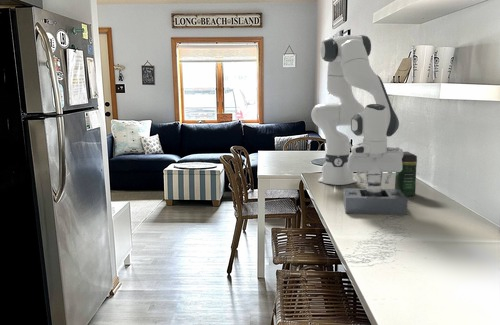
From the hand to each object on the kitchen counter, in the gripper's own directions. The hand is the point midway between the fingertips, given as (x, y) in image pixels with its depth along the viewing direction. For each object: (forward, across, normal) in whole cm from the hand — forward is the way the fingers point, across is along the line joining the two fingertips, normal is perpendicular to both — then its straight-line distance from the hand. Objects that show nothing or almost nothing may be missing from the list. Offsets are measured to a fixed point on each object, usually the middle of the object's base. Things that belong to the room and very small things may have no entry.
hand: (373, 183), depth 163 cm
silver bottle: (+10, 0, 0) cm, 10 cm away
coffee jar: (+10, -16, -23) cm, 30 cm away
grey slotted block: (+10, 0, 0) cm, 10 cm away
